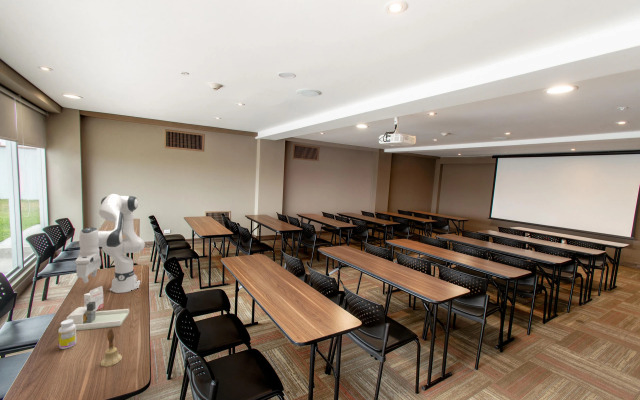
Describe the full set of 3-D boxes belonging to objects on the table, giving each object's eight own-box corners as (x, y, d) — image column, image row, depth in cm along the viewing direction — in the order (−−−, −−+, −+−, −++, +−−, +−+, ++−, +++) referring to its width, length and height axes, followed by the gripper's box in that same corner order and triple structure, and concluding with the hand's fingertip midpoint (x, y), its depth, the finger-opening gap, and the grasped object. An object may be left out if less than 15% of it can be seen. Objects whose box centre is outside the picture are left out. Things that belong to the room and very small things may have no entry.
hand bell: (97, 368, 124) (97, 335, 123) (103, 357, 132) (103, 325, 131) (119, 364, 128) (119, 332, 126) (124, 353, 135) (124, 323, 134)
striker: (90, 318, 162) (90, 301, 161) (96, 318, 163) (96, 300, 162) (86, 323, 157) (85, 305, 156) (92, 322, 158) (92, 304, 157)
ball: (83, 312, 160) (90, 315, 161) (79, 318, 160) (86, 321, 161) (79, 315, 156) (87, 318, 158) (75, 321, 156) (83, 324, 157)
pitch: (78, 317, 164) (78, 305, 164) (129, 313, 172) (128, 301, 172) (64, 331, 150) (64, 318, 149) (120, 325, 158) (119, 313, 158)
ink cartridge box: (97, 306, 179) (97, 284, 178) (103, 307, 178) (103, 285, 177) (83, 312, 171) (83, 289, 169) (90, 313, 170) (90, 290, 169)
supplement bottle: (62, 342, 141) (61, 319, 140) (78, 340, 143) (78, 317, 142) (56, 350, 135) (55, 326, 133) (73, 348, 137) (72, 323, 136)
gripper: (91, 251, 165) (92, 273, 167) (73, 262, 146) (74, 286, 147) (104, 250, 167) (104, 272, 169) (87, 261, 148) (88, 285, 149)
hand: (90, 279), depth 158 cm, fingers open, 8 cm apart
